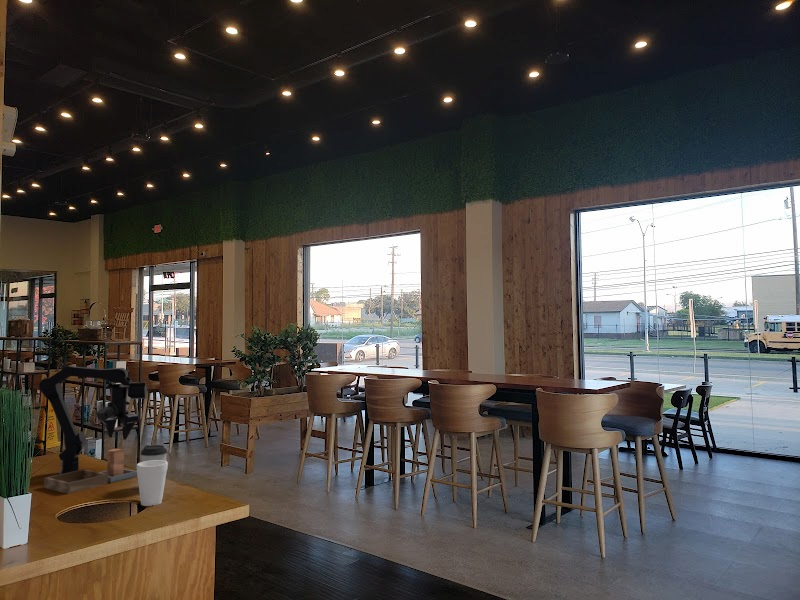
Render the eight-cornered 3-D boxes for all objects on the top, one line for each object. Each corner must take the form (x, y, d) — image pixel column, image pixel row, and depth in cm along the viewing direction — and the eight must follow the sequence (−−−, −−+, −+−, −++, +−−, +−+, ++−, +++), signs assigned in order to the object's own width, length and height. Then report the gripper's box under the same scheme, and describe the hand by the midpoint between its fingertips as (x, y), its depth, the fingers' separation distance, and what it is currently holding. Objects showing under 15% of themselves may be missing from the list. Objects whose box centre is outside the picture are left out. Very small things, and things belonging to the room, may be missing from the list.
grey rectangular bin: (93, 480, 219) (93, 473, 220) (119, 474, 229) (119, 467, 229) (110, 484, 214) (111, 477, 214) (137, 478, 223) (137, 471, 224)
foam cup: (136, 509, 186) (137, 467, 187) (134, 501, 195) (135, 461, 195) (168, 504, 191) (169, 464, 191) (165, 497, 199) (166, 459, 199)
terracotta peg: (107, 477, 221) (107, 450, 221) (116, 474, 224) (117, 448, 225) (113, 478, 219) (114, 451, 219) (123, 476, 222) (124, 449, 223)
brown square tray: (43, 489, 208) (44, 477, 208) (83, 479, 220) (83, 469, 220) (67, 495, 200) (68, 483, 201) (107, 485, 213) (107, 474, 213)
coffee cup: (171, 484, 215) (172, 443, 215) (158, 491, 206) (159, 448, 206) (147, 484, 215) (148, 443, 216) (134, 490, 206) (135, 448, 207)
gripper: (85, 399, 233) (84, 439, 232) (114, 403, 223) (113, 444, 223) (111, 397, 242) (110, 434, 242) (140, 400, 233) (139, 439, 232)
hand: (117, 438), depth 234 cm, fingers open, 9 cm apart
